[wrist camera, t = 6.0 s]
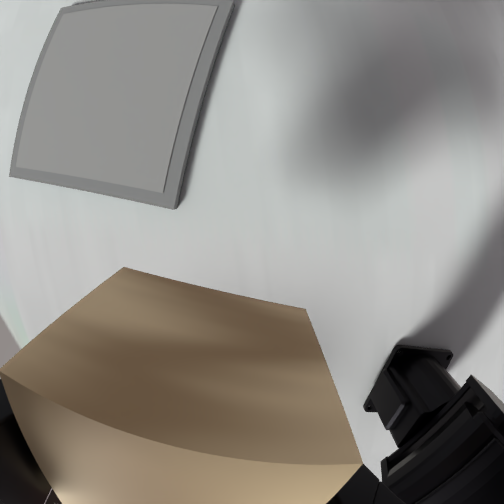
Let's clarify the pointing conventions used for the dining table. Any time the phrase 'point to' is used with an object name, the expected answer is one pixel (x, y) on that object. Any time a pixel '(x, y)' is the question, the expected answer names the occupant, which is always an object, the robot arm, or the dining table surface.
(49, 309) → the dining table surface
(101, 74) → the mat
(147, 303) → the maple cube
